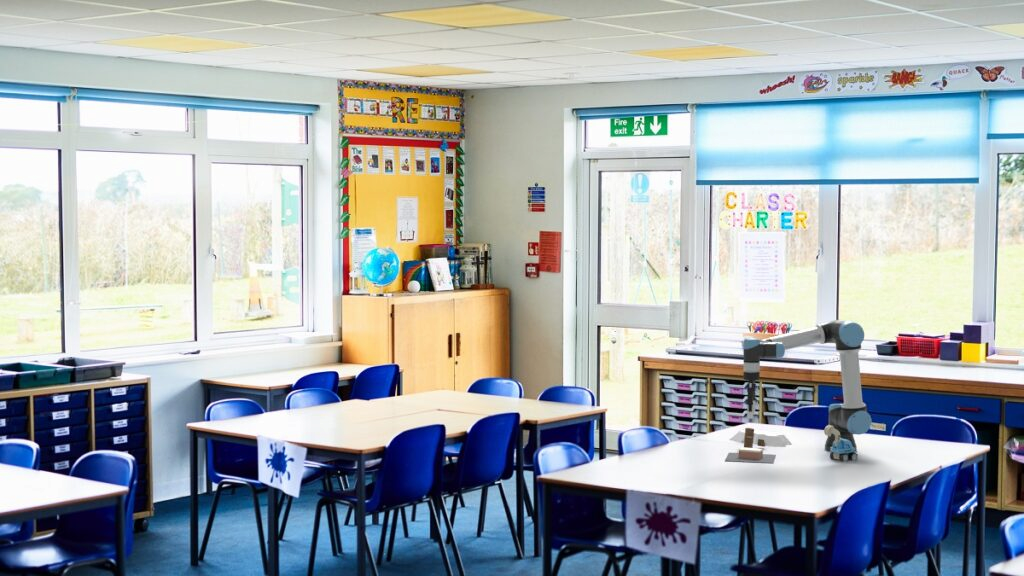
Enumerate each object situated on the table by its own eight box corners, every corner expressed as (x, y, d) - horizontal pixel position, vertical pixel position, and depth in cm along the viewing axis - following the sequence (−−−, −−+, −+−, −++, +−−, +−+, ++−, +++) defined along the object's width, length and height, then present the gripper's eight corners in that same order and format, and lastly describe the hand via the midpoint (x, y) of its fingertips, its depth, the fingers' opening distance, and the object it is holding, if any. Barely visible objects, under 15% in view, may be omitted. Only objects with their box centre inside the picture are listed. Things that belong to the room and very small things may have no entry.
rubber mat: (775, 456, 583) (775, 454, 583) (773, 464, 562) (773, 462, 562) (728, 454, 589) (728, 452, 589) (724, 462, 567) (724, 460, 567)
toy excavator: (818, 460, 572) (819, 424, 571) (845, 458, 579) (846, 422, 579) (831, 464, 564) (831, 426, 563) (858, 461, 572) (859, 424, 571)
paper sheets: (804, 445, 619) (804, 434, 619) (784, 450, 604) (784, 438, 604) (744, 437, 643) (744, 426, 642) (723, 442, 628) (723, 431, 628)
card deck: (741, 455, 580) (742, 447, 580) (762, 457, 576) (762, 448, 576) (738, 457, 575) (738, 449, 575) (759, 459, 570) (759, 450, 570)
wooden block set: (753, 454, 589) (755, 433, 588) (736, 451, 593) (738, 430, 593) (765, 449, 605) (767, 428, 604) (748, 446, 609) (750, 426, 608)
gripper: (745, 368, 587) (745, 412, 587) (741, 374, 562) (741, 419, 563) (761, 368, 585) (760, 412, 586) (758, 374, 561) (757, 420, 561)
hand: (751, 416), depth 574 cm, fingers open, 13 cm apart
